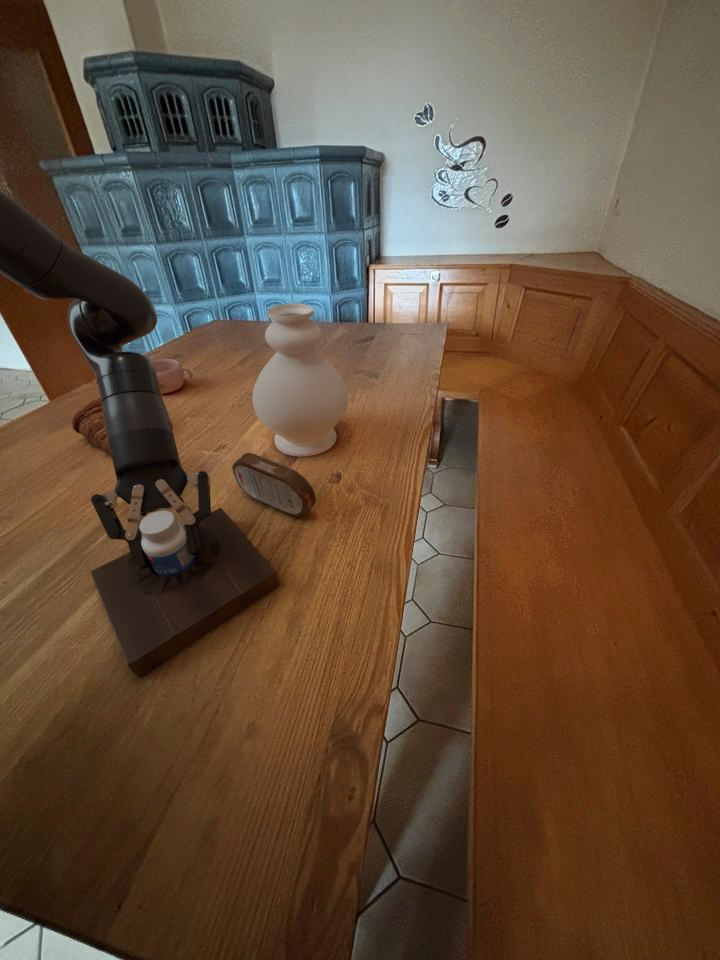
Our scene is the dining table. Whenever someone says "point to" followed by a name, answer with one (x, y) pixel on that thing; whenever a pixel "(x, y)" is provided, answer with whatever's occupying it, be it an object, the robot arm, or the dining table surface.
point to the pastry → (92, 424)
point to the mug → (170, 374)
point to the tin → (274, 484)
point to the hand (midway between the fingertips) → (171, 560)
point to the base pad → (182, 594)
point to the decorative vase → (298, 385)
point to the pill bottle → (166, 544)
